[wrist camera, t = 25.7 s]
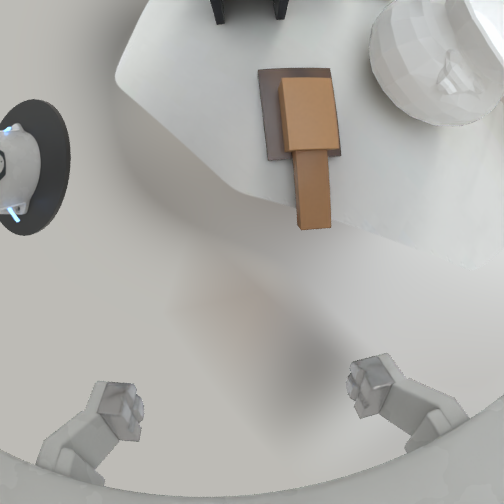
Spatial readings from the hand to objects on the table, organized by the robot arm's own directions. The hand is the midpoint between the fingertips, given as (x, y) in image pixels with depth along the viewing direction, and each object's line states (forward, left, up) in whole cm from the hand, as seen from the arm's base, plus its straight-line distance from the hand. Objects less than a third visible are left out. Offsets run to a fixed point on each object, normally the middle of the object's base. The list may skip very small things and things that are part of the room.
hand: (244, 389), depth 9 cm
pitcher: (+26, +22, -32) cm, 46 cm away
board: (+8, +15, -31) cm, 35 cm away
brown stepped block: (+8, +8, -30) cm, 32 cm away
